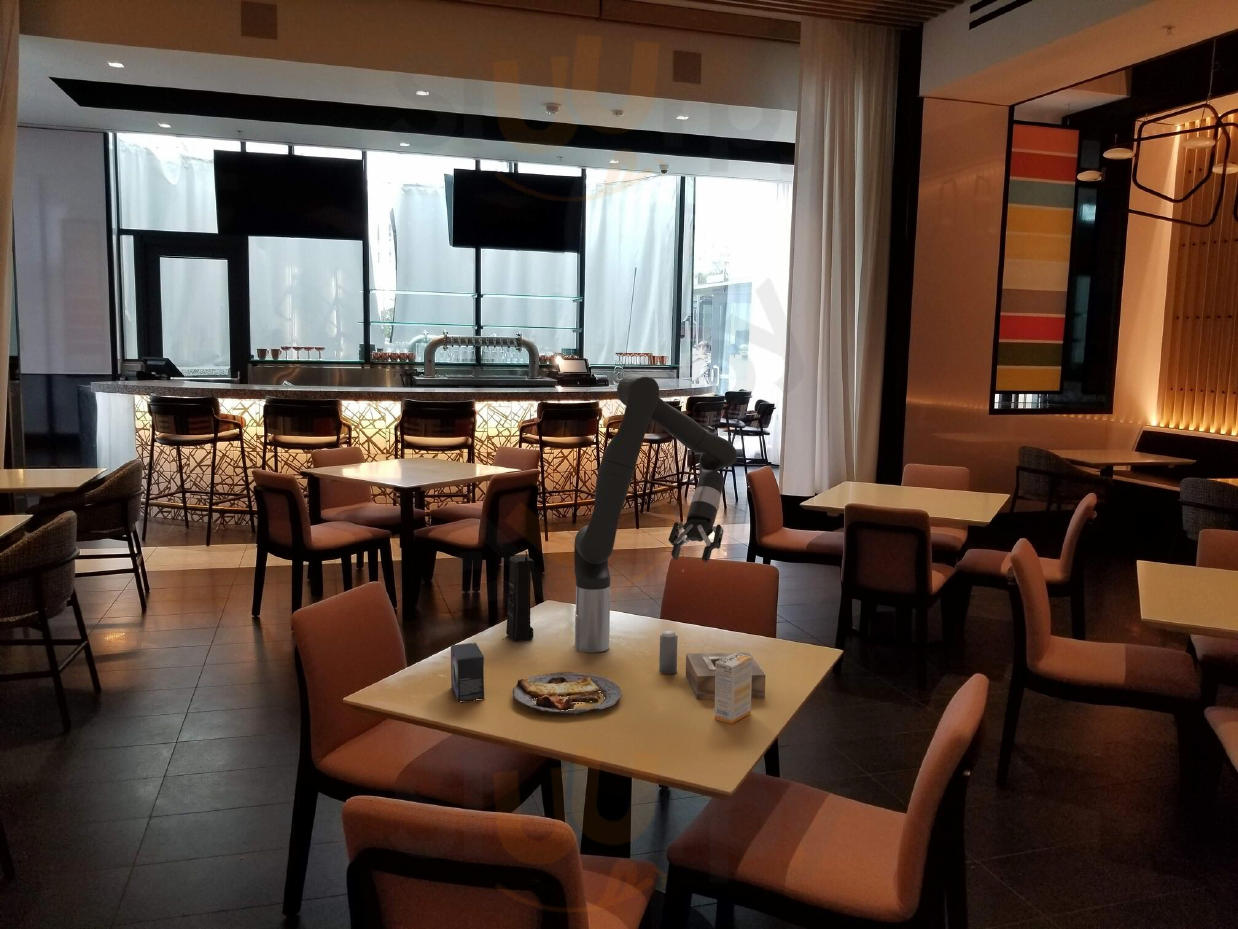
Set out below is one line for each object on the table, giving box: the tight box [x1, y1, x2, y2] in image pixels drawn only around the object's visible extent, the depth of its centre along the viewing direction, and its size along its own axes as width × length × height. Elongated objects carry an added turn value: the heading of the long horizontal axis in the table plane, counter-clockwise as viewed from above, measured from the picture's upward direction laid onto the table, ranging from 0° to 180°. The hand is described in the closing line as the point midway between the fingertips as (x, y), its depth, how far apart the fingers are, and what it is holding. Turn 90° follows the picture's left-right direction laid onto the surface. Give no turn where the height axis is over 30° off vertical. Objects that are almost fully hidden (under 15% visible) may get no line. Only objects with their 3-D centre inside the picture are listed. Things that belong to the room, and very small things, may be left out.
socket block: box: [685, 652, 766, 700], centre depth 216 cm, size 16×16×6 cm
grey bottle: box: [658, 630, 679, 675], centre depth 226 cm, size 4×4×10 cm
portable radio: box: [505, 550, 535, 643], centre depth 250 cm, size 8×6×25 cm
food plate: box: [512, 671, 622, 715], centre depth 207 cm, size 25×23×4 cm
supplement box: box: [713, 652, 753, 725], centre depth 197 cm, size 8×5×13 cm, turn 141°
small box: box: [450, 642, 485, 703], centre depth 208 cm, size 11×6×10 cm, turn 19°
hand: (689, 559), depth 236 cm, fingers open, 8 cm apart
